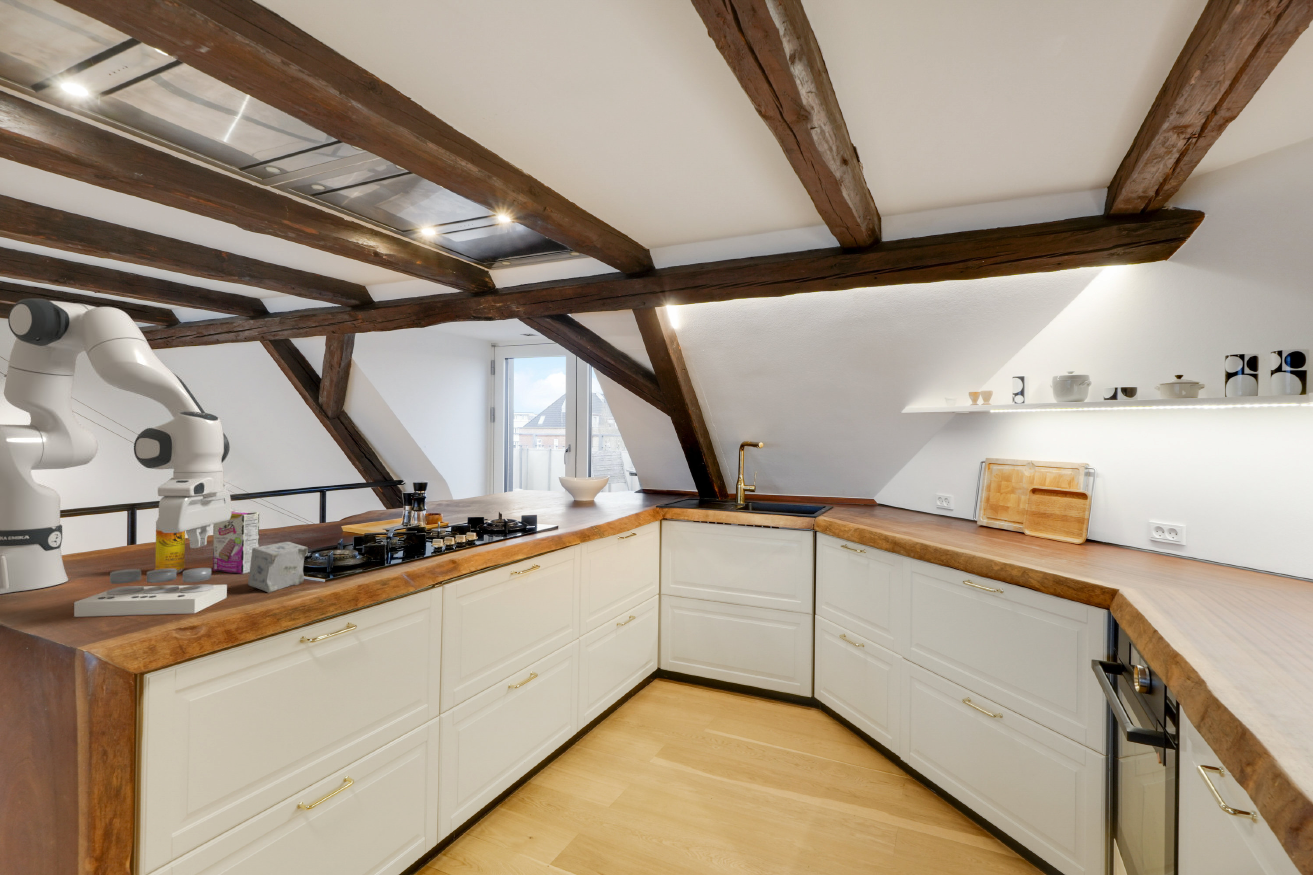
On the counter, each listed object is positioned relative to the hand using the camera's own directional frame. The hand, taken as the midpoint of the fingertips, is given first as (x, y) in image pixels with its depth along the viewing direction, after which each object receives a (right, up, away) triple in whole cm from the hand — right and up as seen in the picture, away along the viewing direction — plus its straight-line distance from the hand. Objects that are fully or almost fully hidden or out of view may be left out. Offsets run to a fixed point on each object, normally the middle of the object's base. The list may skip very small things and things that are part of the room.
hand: (198, 546), depth 130 cm
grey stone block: (+8, -13, +15) cm, 21 cm away
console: (-7, -12, -3) cm, 15 cm away
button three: (-7, -7, -1) cm, 10 cm away
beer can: (-29, -12, +28) cm, 42 cm away
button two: (-14, -7, -2) cm, 16 cm away
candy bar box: (-14, -13, +30) cm, 35 cm away
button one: (0, -7, 0) cm, 7 cm away
